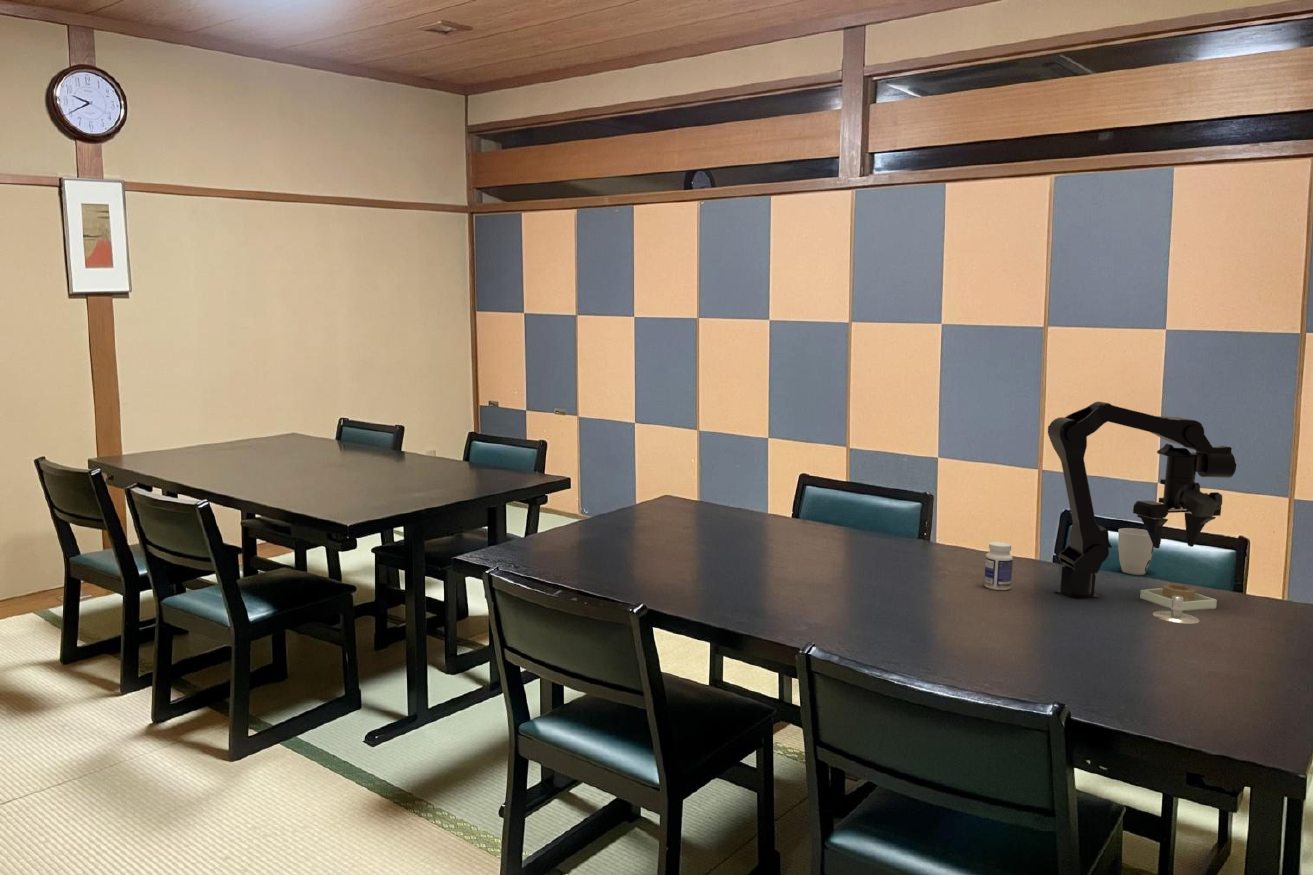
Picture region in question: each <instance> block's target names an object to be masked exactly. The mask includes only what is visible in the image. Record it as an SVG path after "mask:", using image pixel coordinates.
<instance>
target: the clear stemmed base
mask: <svg viewBox="0 0 1313 875" xmlns="http://www.w3.org/2000/svg"><path fill="white" fill-rule="evenodd" d="M1182 608H1183V597H1181V596H1172V606H1171V609H1170V610H1158V611H1153V613H1152V615H1153V616H1154V617H1155V618H1158V619H1159V620H1162V621H1167V622H1170V623H1178V624H1189V625H1190V624H1191V625H1192V624H1197V623H1199V622H1200V619H1199V618H1198V617H1196V616H1194V615H1191V614H1187V613H1184V612H1183V611H1182Z"/></svg>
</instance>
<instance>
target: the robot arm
mask: <svg viewBox="0 0 1313 875" xmlns="http://www.w3.org/2000/svg"><path fill="white" fill-rule="evenodd" d="M1106 423H1112V424H1116V425H1120V426H1124V427H1129V428H1133V429H1136V430H1140V431H1145V432H1149V433H1151V434H1153V435H1155V436H1157V437H1159V438H1161V439H1163V440H1165V441H1167V442H1169V443H1173V444H1174V445H1175V444H1176V445H1179V446H1182V447H1174V446H1173V445H1172V444H1169V443H1164V444H1165V445H1164V446H1163V447H1161V448H1160V449H1158V450H1157V451H1156V453H1157V454H1158V455H1161V456H1166V465H1165V476H1164V478H1160V485H1164V487H1163V488H1164V489H1163V497H1158V501H1154V500H1137V501H1136V502H1135V503H1134V504H1133V509H1132V514H1136V515H1137V518H1139V519H1141V521H1142V523H1143V525H1144V527H1145V530H1147V531H1148V534H1149V536H1150V539H1151V541H1152V543H1153V546H1154V548H1155V549H1160V546H1161V544H1162V543H1161V542H1162V537H1163V536H1162V535H1163V528H1164V525H1165V524H1166V523H1167V522H1168V521H1169V519H1167V518H1166V517H1167V516H1168V514H1171V513H1172V514H1173V513H1175V514H1177V513H1184V522H1185V524H1184V525H1185V536H1186V542H1187V543H1186V544H1187V546H1188V547H1192V548H1193V547H1194V545H1195V544H1196V542H1197V539H1198V538H1199V536H1200V534H1201V532H1202V530H1203V529H1204V527H1205V525H1206V524H1207V523H1209V522H1211V521H1213V520H1215V519H1216V518H1217V517H1218V516H1219V517H1221V513H1222V505H1223V494H1221V493H1219V492H1216V491H1215V492H1210V493H1207V492H1202V491H1201V484H1200V482H1196V476H1197V475H1196V473H1197V474H1198V476H1200V477H1201V478H1225V479H1227V478H1228V479H1229V478H1232V477H1233V476H1234V475H1235V472H1236V470H1237V463H1236V459H1235V458H1236V457H1235V456H1234V454H1233V453H1232V449H1233V448H1232V447H1231V446H1227V445H1218V446H1212V444H1211V443H1210V441H1209V439H1208V438H1207V436H1206V435H1205V429H1204V426H1203V424H1202V422H1200V421H1197V420H1194V419H1191V418H1189V419H1188V418H1184V417H1178V416H1158V415H1157V416H1156V415H1152V414H1149V413H1144V412H1140V411H1137V410H1132V409H1128V408H1125V407H1120V406H1115V405H1113V404H1111V403H1110V402H1104V401H1095V402H1093V403H1092V404H1090V405H1088V406H1086V407H1085V408H1081V409H1079V410H1077V411H1075V412H1072V413H1070V414H1068V415H1066V416H1063V417H1057V418H1055V419H1053V420H1052V421H1051V422H1050V424H1049V425H1048V427H1047V435H1048V437H1049V441H1050V442H1051V446H1052V448H1053V450H1054V451H1055V452H1056V454H1057V456H1058V458H1059V460H1060V462H1061V468H1062V473H1063V478H1064V482H1065V488H1066V493H1067V499H1068V504H1069V509H1070V515H1071V519H1072V525H1071V529H1070V532H1069V544H1068V545H1067V546H1065V548H1064V549H1063V550H1061V551H1060V552H1059V553H1058V558H1059V559H1058V560H1059V563H1060V564H1063V565H1064V566H1062V567H1061V578H1060V586H1059V587H1060V589H1055V590H1054V593H1056V594H1058V595H1063V596H1065V597H1068V598H1071V599H1074V600H1085V599H1086V600H1087V599H1095V598H1099V595H1097V594H1094V593H1095V587H1096V577H1097V576H1096V574H1098V572H1099V570H1100V569H1101V567H1102V564H1103V563H1104V562H1105V561H1106V560H1107V558H1109V556H1110V548H1112V547H1113V546H1112V545H1111V543H1110V540H1109V529H1107V528H1105V527H1104V526H1101V525H1099V524H1098V523H1097V521H1096V516H1095V510H1094V506H1093V500H1092V496H1091V495H1092V494H1091V490H1090V484H1089V480H1088V474H1087V469H1086V464H1085V455H1086V451H1087V446H1088V442H1087V440H1088V437H1089V436H1091V435H1092V434H1094V433H1095V432H1096V431H1098V430H1099V429H1100V428H1101V427H1102V426H1103V425H1104V424H1106ZM1189 449H1190V450H1194V451H1195V452H1191V451H1190V450H1189Z"/></svg>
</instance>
